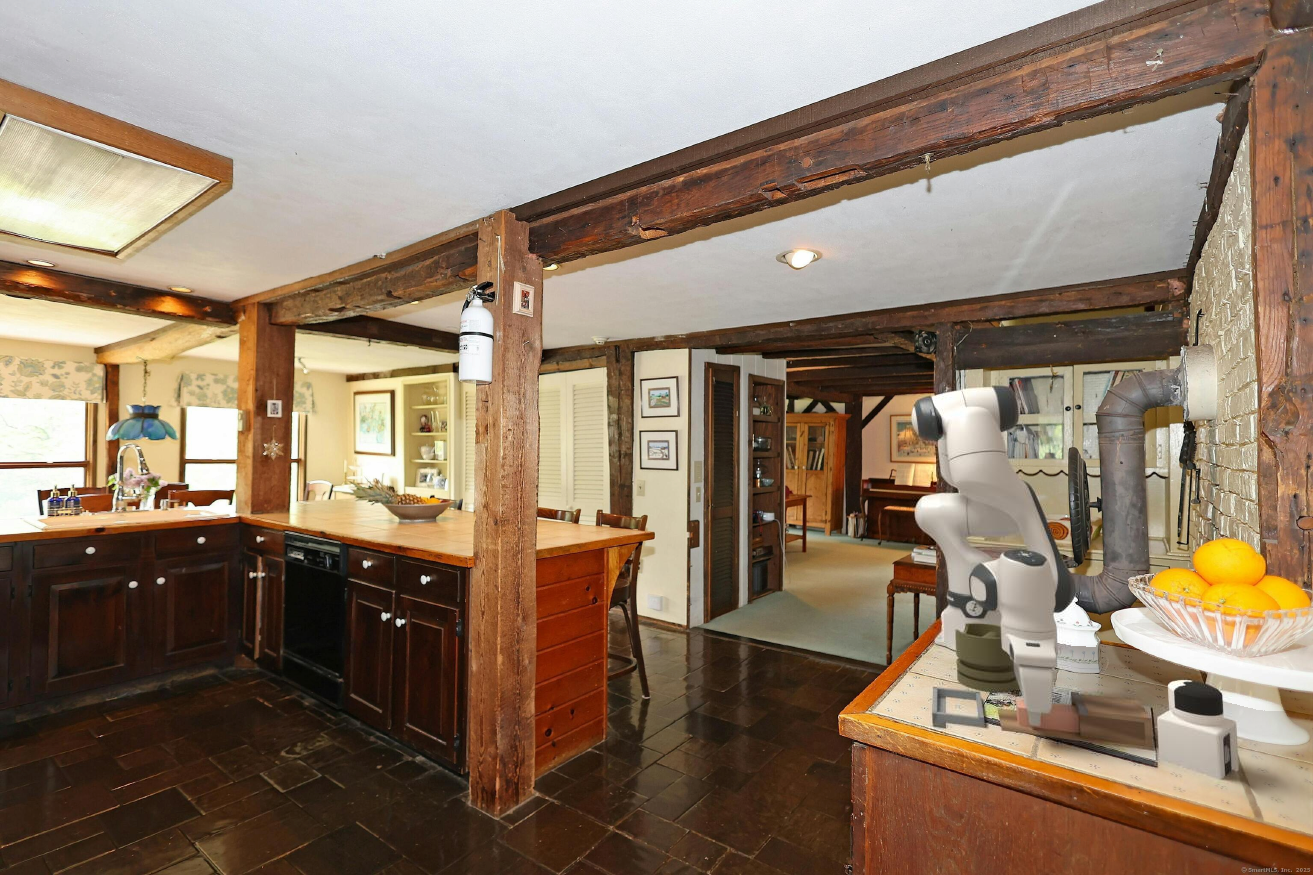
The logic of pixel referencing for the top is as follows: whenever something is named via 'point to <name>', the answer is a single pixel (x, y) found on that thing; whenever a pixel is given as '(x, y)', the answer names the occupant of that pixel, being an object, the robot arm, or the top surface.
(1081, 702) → the brown slab
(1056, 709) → the salmon pink rectangular prism
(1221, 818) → the top surface
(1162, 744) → the container
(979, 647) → the piston
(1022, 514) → the robot arm
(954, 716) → the tray
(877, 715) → the top surface
